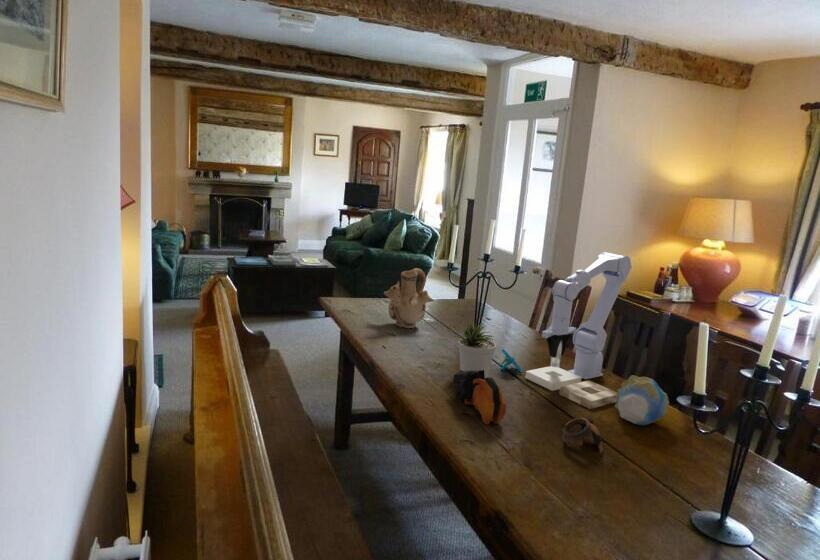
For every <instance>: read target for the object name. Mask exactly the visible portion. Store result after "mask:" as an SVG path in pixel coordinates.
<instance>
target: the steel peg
mask: <svg viewBox="0 0 820 560" xmlns="http://www.w3.org/2000/svg"><path fill="white" fill-rule="evenodd" d="M562 345H563V340H561V342H560V344H559V347H558V350H557V355H556V357H555V358H554V357H551V356H550V366H552V367H559V368H561V367H560V365H561V358H562V356H561V352H562Z"/></svg>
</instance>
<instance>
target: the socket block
mask: <svg viewBox="0 0 820 560" xmlns="http://www.w3.org/2000/svg"><path fill="white" fill-rule="evenodd" d="M568 371H569V370H566V369H563V368H561V367H552V366H551V365H550V366H544V367H540V368H535V369H530V370H529V369H528V370H526V371H525V376H524V378H525V379H526V380H529V381H531V382H533V383H535V384H537V385H539V386H541V387H544V388H545V389H548V390H549V391H551V392H554V391H558V390H560V387H562V386H566V385H571V384H575V383H580V382H582V379H583V378H582V377H580V376H578V375H575V374H573V373H571V372H568Z"/></svg>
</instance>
